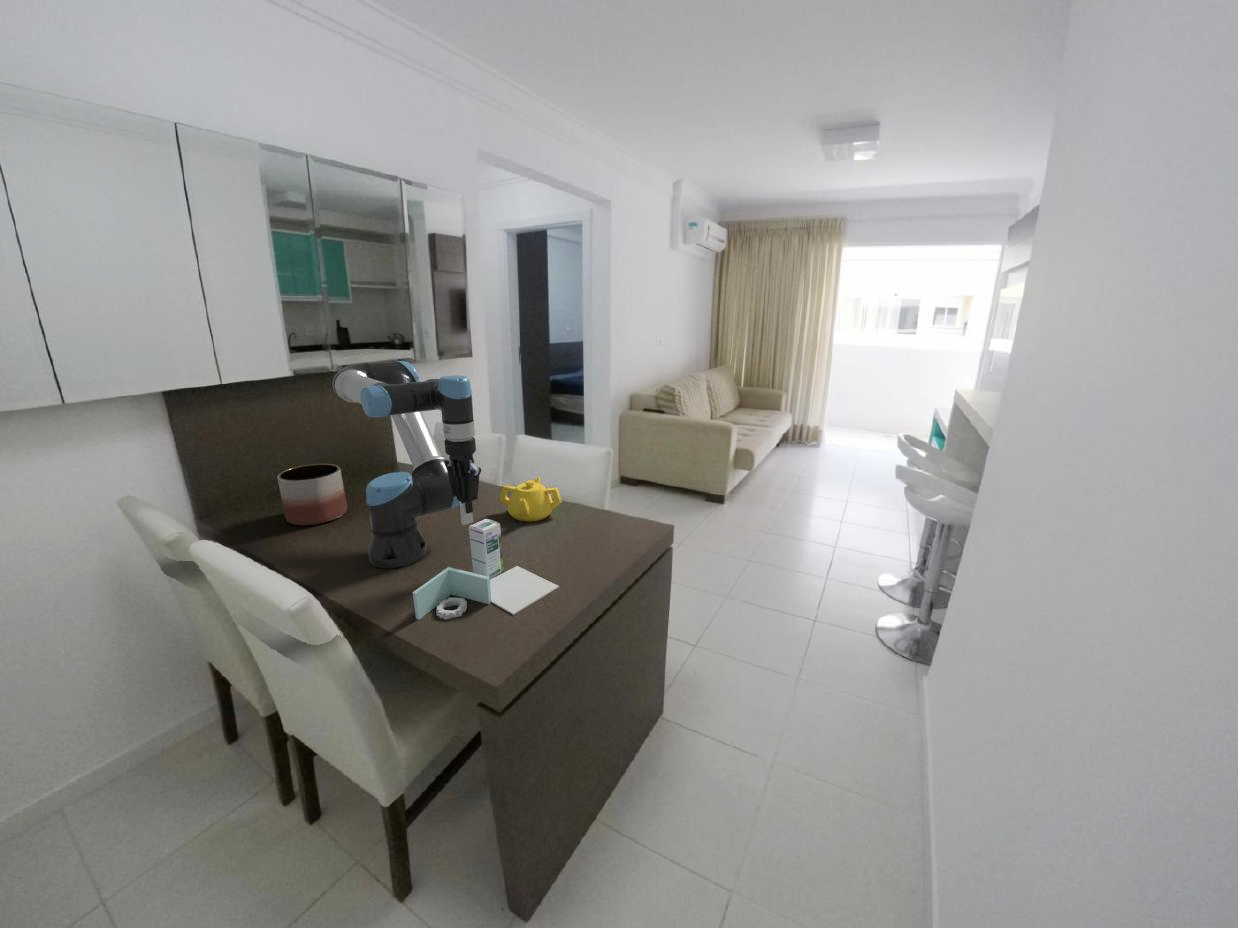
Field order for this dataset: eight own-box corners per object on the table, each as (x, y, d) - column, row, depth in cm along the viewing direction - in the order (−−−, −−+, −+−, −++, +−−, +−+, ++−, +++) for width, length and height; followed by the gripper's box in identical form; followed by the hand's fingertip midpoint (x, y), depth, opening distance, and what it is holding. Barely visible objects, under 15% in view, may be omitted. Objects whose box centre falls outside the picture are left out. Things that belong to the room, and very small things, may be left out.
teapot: (564, 515, 165) (564, 483, 162) (521, 528, 155) (519, 494, 152) (539, 501, 178) (538, 470, 174) (497, 512, 167) (495, 479, 164)
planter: (291, 532, 150) (281, 485, 145) (282, 514, 162) (272, 470, 158) (354, 517, 161) (346, 473, 156) (340, 501, 174) (333, 460, 169)
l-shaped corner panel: (416, 620, 110) (412, 592, 108) (451, 593, 121) (448, 566, 118) (459, 633, 106) (456, 604, 104) (491, 603, 117) (489, 576, 114)
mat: (471, 590, 121) (471, 589, 121) (517, 567, 132) (517, 565, 132) (513, 615, 112) (513, 613, 112) (559, 587, 123) (559, 586, 123)
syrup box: (488, 581, 125) (484, 530, 121) (472, 574, 128) (468, 525, 124) (504, 571, 130) (501, 522, 125) (488, 565, 133) (484, 517, 128)
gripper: (431, 436, 123) (441, 521, 130) (462, 445, 116) (470, 534, 123) (457, 431, 129) (464, 512, 136) (487, 439, 121) (494, 524, 128)
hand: (467, 522), depth 129 cm, fingers closed
